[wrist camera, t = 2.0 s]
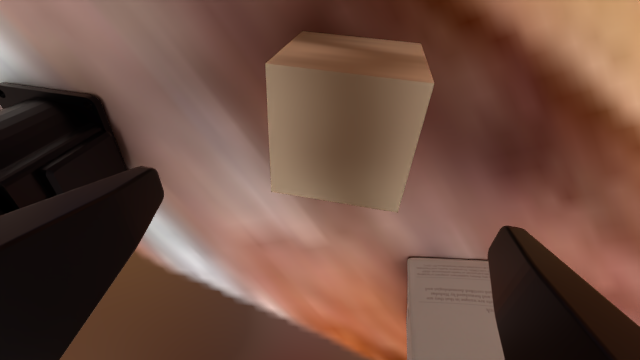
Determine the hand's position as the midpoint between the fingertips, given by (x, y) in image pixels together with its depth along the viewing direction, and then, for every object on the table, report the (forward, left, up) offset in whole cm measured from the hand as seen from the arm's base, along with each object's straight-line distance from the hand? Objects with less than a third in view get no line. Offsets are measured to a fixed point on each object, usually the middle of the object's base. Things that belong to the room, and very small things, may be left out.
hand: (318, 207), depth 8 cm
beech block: (0, 0, -8) cm, 8 cm away
